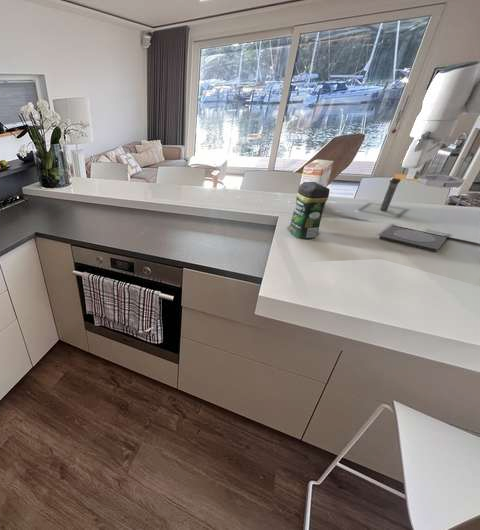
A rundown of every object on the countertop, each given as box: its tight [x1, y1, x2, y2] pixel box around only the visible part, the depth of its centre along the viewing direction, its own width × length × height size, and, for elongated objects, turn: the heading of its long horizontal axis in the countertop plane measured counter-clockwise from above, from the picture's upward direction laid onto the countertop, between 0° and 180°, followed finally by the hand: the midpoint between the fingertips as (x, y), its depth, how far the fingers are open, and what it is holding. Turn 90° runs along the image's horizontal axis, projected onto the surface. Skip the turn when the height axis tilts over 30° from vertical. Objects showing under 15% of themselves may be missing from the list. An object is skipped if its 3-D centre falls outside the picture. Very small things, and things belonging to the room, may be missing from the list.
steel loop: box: [393, 173, 465, 188], centre depth 88 cm, size 15×9×1 cm, turn 36°
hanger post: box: [378, 176, 402, 212], centre depth 112 cm, size 12×12×14 cm
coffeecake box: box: [299, 159, 334, 188], centre depth 120 cm, size 15×7×20 cm, turn 134°
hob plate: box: [379, 225, 449, 253], centre depth 96 cm, size 14×14×1 cm
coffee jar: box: [288, 182, 330, 240], centre depth 100 cm, size 10×8×19 cm
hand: (411, 177), depth 91 cm, fingers closed on steel loop, 1 cm apart
